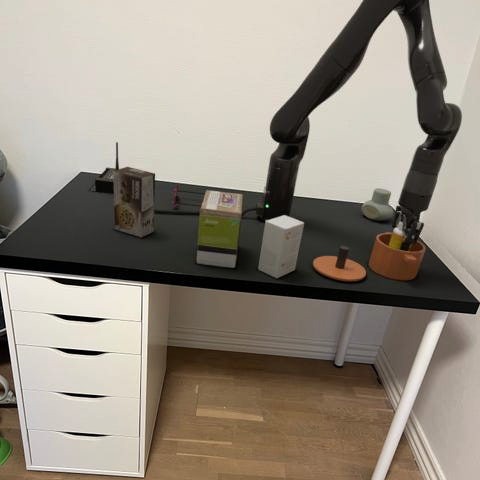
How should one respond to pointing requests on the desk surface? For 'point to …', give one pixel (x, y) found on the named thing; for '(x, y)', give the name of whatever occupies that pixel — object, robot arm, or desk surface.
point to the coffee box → (134, 201)
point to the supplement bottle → (397, 237)
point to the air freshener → (378, 206)
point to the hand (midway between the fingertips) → (398, 250)
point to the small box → (280, 245)
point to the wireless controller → (106, 178)
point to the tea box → (219, 229)
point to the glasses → (178, 197)
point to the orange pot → (395, 259)
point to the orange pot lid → (339, 266)
